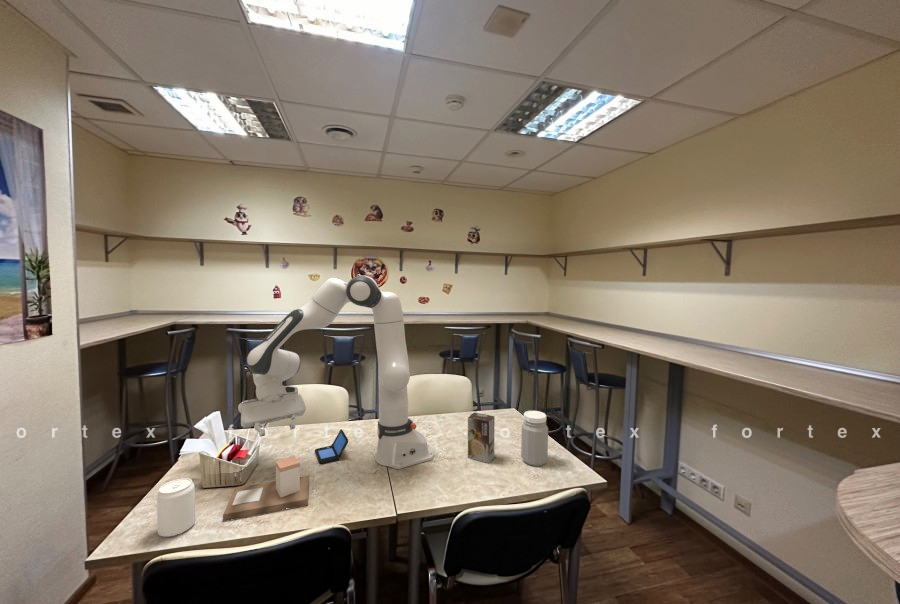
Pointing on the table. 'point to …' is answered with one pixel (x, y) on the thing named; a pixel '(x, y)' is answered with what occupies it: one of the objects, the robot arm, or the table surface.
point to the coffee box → (481, 437)
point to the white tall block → (287, 476)
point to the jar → (534, 438)
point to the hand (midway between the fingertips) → (278, 431)
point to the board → (263, 499)
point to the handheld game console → (332, 449)
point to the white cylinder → (176, 507)
